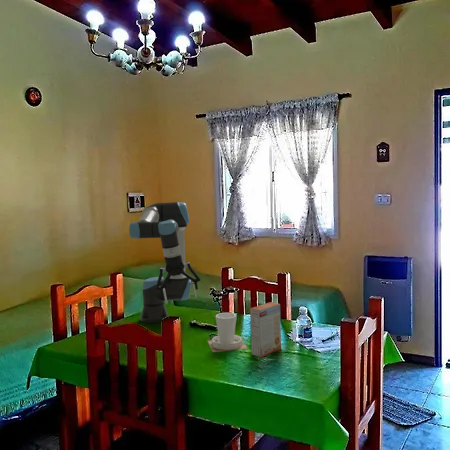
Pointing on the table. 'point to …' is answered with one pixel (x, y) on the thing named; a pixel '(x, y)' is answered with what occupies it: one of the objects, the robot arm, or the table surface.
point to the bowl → (230, 346)
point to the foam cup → (226, 327)
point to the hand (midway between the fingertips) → (181, 299)
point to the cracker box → (265, 329)
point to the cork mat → (226, 350)
